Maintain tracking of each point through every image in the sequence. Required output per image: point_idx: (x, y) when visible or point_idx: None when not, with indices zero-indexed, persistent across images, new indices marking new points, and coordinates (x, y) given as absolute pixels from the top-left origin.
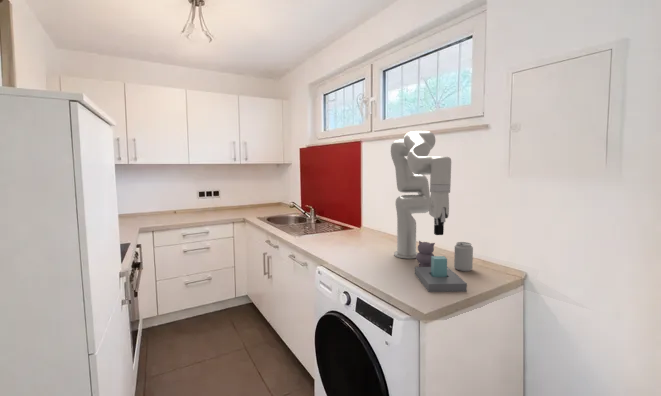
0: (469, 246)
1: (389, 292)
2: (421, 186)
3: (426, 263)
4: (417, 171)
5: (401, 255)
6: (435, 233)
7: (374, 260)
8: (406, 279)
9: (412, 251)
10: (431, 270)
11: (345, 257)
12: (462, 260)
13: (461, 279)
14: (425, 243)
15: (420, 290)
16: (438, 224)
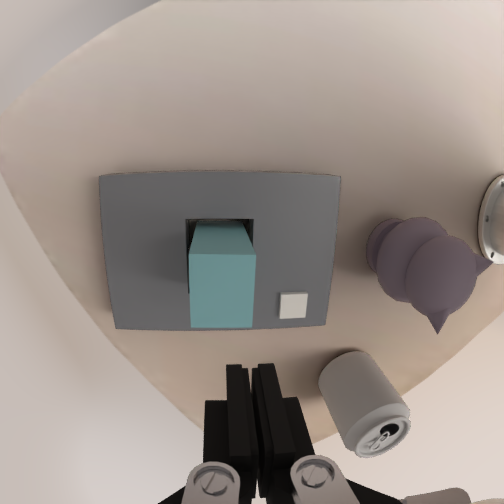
0: (354, 448)
1: (119, 29)
2: None
3: (379, 250)
4: None
5: (497, 193)
6: (227, 373)
7: (474, 80)
8: (258, 115)
9: (501, 239)
10: (239, 232)
11: (486, 10)
12: (336, 391)
13: (157, 328)
14: (452, 283)
15: (126, 144)
16: (190, 486)
